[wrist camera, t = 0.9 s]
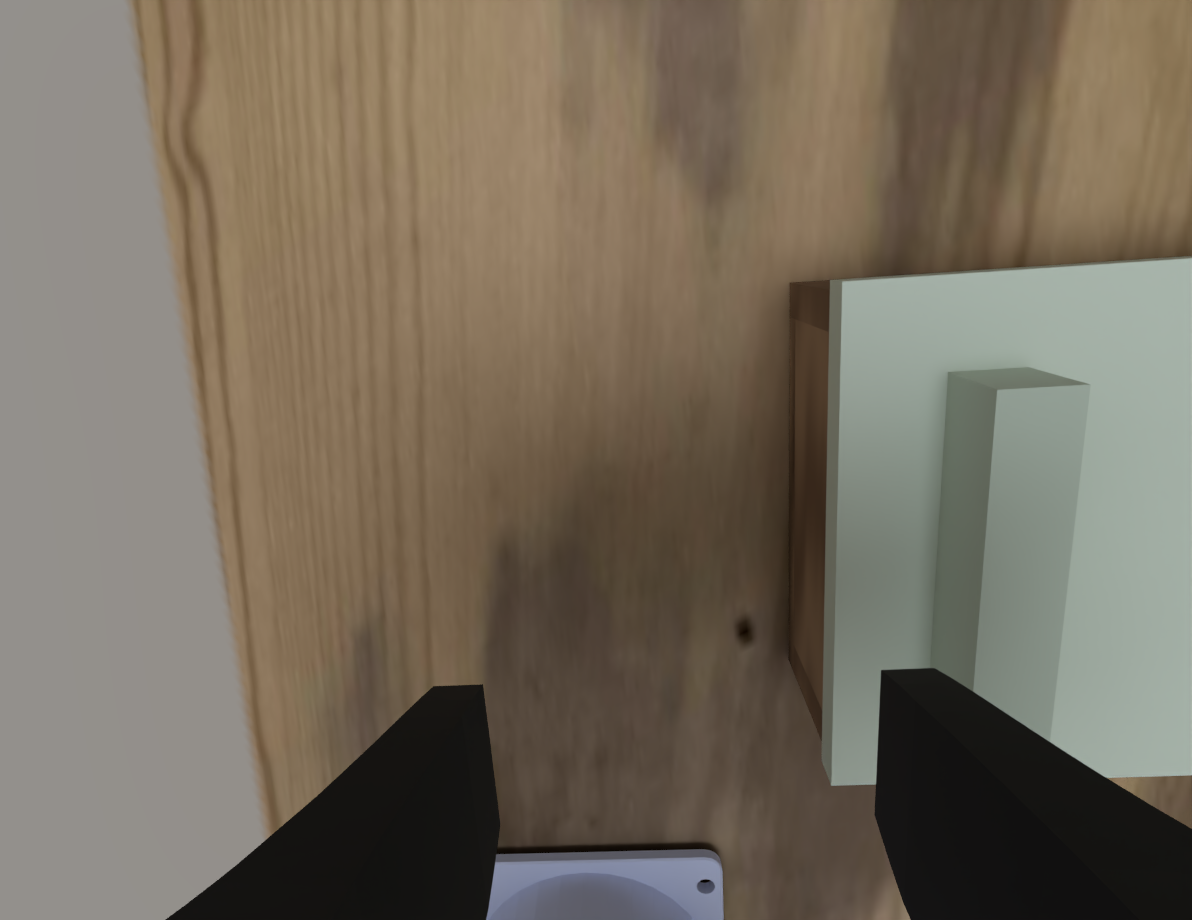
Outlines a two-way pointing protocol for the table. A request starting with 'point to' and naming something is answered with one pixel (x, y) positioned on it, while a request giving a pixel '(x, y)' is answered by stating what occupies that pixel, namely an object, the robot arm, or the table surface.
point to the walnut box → (808, 486)
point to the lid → (1014, 504)
